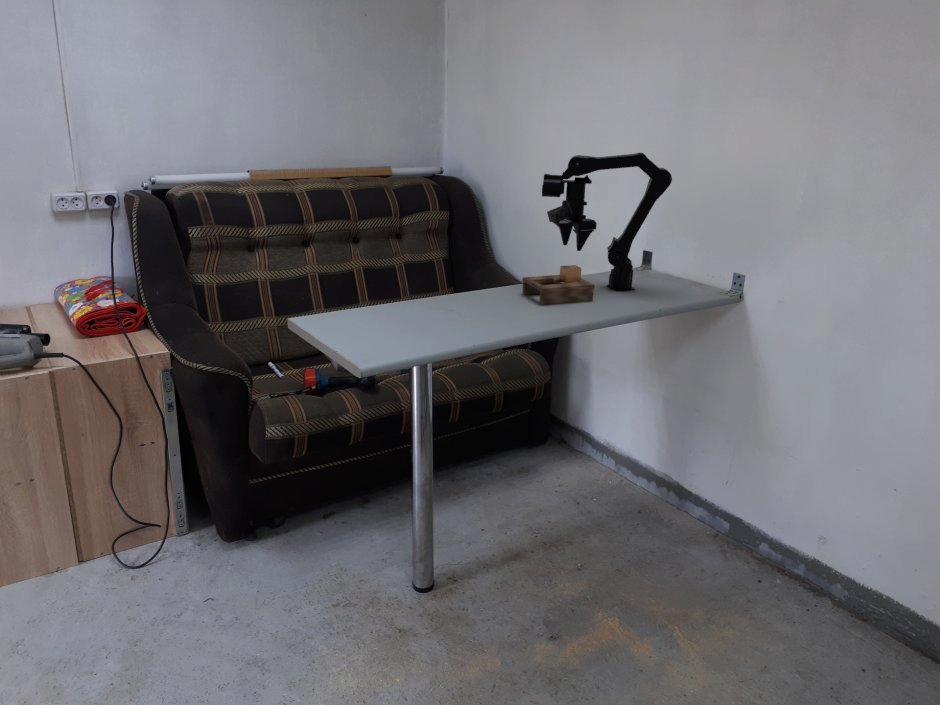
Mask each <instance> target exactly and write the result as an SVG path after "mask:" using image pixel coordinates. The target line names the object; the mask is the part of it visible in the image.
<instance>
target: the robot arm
mask: <svg viewBox="0 0 940 705" xmlns="http://www.w3.org/2000/svg"><path fill="white" fill-rule="evenodd" d="M635 167H637V168H639V170H640V169H641V171H642V172H643V173H645V175H647V176H648V177H649V179H648V182H647V185H646V188H645V189H646V190H645V192H644V194H643V196H642V198H641V200H640V201H639V203H638V206H637V207H636V209H635V211H634V212H633V214H632V215H631V217H630V219H629V221H628V223H627V225H626V226H625V228H624V230H623V232H622V233H621V235H620V236H619V237H618V238H617V237H615V236H613V238H612V240H611V243H610V244H609V245H608V246H607V261H608V263H609V265H611V266H613V268H611V269H610V273H609V277H608V284H607V285H606V287H607V288H608V289H611V290H612V291H615V292H625V291H628V292H629V291H634V290H635V287H633V286H632V285H633V277H634V269H633V267H634V265H633V261H632V260H631V258H630V257H629V254H630V250H631V247H632V246H633V245H632V244H633V242H634V239H635V238H636V237H637V234H638V232H639V230H641V227H642V225H643V224H644V222H645V221H646V218H648V216H649V213H650V212H651V211H652V208H653V207H654V204H655V203H656V201H657V200H658V199H659V198H660V197H661V196H662V195H663V194H664V193H665V192H666V191H667V189H668V188H669V187H670V186H671V184H672V182H673V178H672V177H673V176H672V174H671V173H670V171H669V170H668V169H666V168H664V167H659V166H658V165H656V164H655V163H654V162H653V161H652V160H650V159H649V158H648V157H647V155H646V154H645V153H643V152H636V153H629V154H617V155H608V156H593V155H592V156H590V155H580V154H577V155H573V156H572V157H571V158H570V159H569V161H568V163H567V168H566V169H565V170H564V171H563V172H562V174H561V175H560V174H550V173H544V174H543V180H542V186H541V196H542V197H546V198H547V197H548V198H560V197H561V195H564V194H565V199H564V200H562V202H561V205H560V206H557V207H555V208H553V209H550V210H548V211H547V217H548V220H549V223H553V224H554V225H555V226H557V227H558V230H559V232H560V233H559V234H560V237H561V241H562V245H563V246H568V243H569V240H570V237H571V233H572V231H573V232H574V233H575V234H576V235H575V236H576V239H575V240H576V251H577V252H581V251H582V249H583V248H584V246H585V245H586V242H587V240H588V239H589V237H590V236H591V234H592V233H594V231H595V230H597V221H596V220H594V219H591V218H587V214H586V215H585V210H584V209H585V206H588V205H587V204H588V201H585V198H586V184H588V185H589V184H590V185H591V184H592V182H593V180H592V179H591V178H590V177H589V175H588V174H591V173H594V172H597V171H605V170H615V169H625V168H635ZM584 175H585V176H584ZM581 176H584V177H581ZM572 177H574V179H571V178H572ZM570 179H571V180H570ZM565 184H566V188H565ZM565 189H566V191H565Z"/></svg>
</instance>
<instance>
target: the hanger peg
mask: <svg viewBox="0 0 940 705" xmlns="http://www.w3.org/2000/svg"><path fill="white" fill-rule="evenodd" d="M559 275H560V278H559V279H560V280H562V281H564V282H575V281H581V278H582V267H580V266H578V265H576V264H574V265H573V264H570V265H560V267H559Z"/></svg>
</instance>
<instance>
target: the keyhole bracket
mask: <svg viewBox="0 0 940 705" xmlns="http://www.w3.org/2000/svg"><path fill="white" fill-rule="evenodd" d="M559 278H560V274H553V275H552V274H551V275H538V276H536V275H535V276H526V277H525V276H523V277H522V279H521V280H522V295H525V296H526V295H537V294H539V305H540V306H544V305H545V306H546V305H558V304H569V303H571V304H572V303H581V302H582V303H583V302H592V301H593V300H594V289H595V287H596V285H595V283H592V282H590V281H588V280H586V279H584V278H582V277H581V281H575V282H564V281H562V280H560V279H559Z"/></svg>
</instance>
